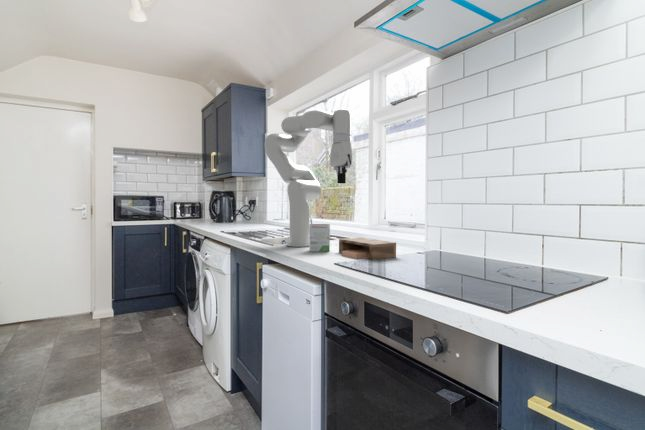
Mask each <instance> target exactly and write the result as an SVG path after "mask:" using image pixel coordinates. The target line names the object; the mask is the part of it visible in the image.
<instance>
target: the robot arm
mask: <svg viewBox="0 0 645 430" xmlns="http://www.w3.org/2000/svg"><path fill="white" fill-rule="evenodd" d="M351 118H352V114H351V111H350V110H349V109H346V108H345V109H344V108H338V109H336V110H334V111H333V112H328V111H325V110H324V111H323V110H321V109H320V110H317V109H315V110H308V111H305V112H304V113H303V114H300V115H295V116H288V117H285V118H284V119H283V120H281V125H280V126H281V130H282V131H283V133H285V134H283V133H282V134H281V133H270V134H268V135H267V136H265V139H264V151H265V154H266V156H267V158H268V160H269V161H271V163H272V164H273V165H274V167H275V169H276V171H277V172H278V174H279V175H280V176H279V177H280V178H281V179H282V181H284V182H285V183H286V184H288V185H287V187H286V188H287V197H288V202H289V205H288V206H289V237H288V238H287V239H288V240H289V241H288V242H286V243H285V244H286V245H285V246H288V247H293V248H295V247H296V248H300V247H301V248H302V247H309V238H310V205H309V203H308V201H309V200H313V201H314V200H317V199H319V198H320V197H321V194H322V187H321V185H320V182H319V181H318V179H317V178H316V176H315V175H314V173H313V172H312V171H311V169H310V168H309V167H307V166H305V165H301V164H295V163H294V162H293V161H292V160H291V159H290V157H289V156H288V155H287V154H286V153H294V152H295V151H297V150H298V149H299V147H300V146H301V144H302V143H303V142H304V141H305V139H306V138H307V136H308V135H309V133H311V132H312V131H313V129H319V130H325V131H329V132H332V144H331V151H330V167H333V168H332V169H333V170H334V171H335V172H336V174H337V175H336V177H337V178H336V179H337V180H336V181H337V184H346V182H347V181H346V180H347V179H346V177H347V176H346V175H347V172H348V170H349V169H351V165H352V164H353V149H352V141H351V140H352V136H351V133H352V126H351V125H352V121H351V120H352V119H351Z"/></svg>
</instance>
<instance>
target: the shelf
mask: <svg viewBox="0 0 645 430" xmlns="http://www.w3.org/2000/svg"><path fill="white" fill-rule="evenodd" d="M367 248H370V253H367V258H366V259H370V260H373V259H376V260H383V258H385V259H392V258H391V257H394V258H397V242H396V241H395V242H393V241H388V240H379V239H373V238H365V237H350V238H339V239H338V252H339V253H341V254H342V251H346V250H357V249H367Z"/></svg>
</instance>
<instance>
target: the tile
mask: <svg viewBox="0 0 645 430" xmlns="http://www.w3.org/2000/svg"><path fill="white" fill-rule="evenodd" d="M367 253H370V248H367V249H357V250H346V251H342V253H341V256H343V257H347V258H352V259H355V260H358V259H368V258H367Z"/></svg>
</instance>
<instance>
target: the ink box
mask: <svg viewBox="0 0 645 430" xmlns="http://www.w3.org/2000/svg"><path fill="white" fill-rule="evenodd" d="M330 239H331V224H330V223H309V246H308V249H309V250H308V251H309V252H322V253H323V252H326V253H328V252H330V247H331V246H330V245H331V244H330V243H331V240H330Z"/></svg>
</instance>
